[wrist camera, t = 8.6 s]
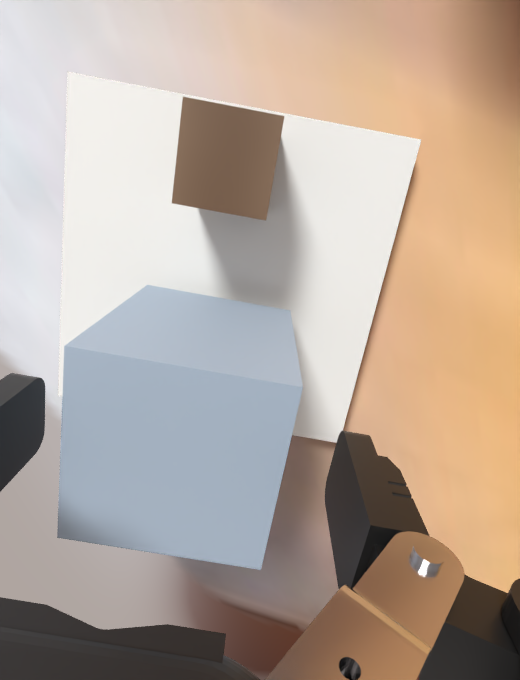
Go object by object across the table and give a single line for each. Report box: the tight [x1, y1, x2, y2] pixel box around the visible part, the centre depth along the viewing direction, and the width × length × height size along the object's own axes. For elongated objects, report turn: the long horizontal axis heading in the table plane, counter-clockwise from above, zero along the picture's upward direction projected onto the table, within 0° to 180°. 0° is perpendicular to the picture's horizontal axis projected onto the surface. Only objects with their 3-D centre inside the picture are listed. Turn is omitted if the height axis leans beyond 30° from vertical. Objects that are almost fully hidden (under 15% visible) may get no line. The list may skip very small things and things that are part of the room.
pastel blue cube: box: [58, 285, 303, 570], centre depth 13 cm, size 5×5×7 cm
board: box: [58, 72, 421, 443], centre depth 17 cm, size 12×12×1 cm
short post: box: [172, 97, 284, 221], centre depth 13 cm, size 3×3×4 cm
